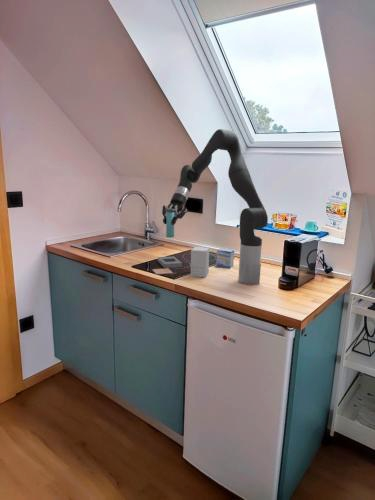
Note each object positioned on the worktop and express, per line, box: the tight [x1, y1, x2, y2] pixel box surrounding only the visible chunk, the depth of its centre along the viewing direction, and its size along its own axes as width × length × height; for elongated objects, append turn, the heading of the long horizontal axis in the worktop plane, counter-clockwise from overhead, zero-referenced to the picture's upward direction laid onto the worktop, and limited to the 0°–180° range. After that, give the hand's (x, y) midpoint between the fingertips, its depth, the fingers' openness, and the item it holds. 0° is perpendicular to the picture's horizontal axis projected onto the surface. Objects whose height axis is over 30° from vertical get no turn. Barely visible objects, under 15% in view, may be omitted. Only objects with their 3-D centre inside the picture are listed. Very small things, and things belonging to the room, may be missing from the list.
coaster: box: [152, 268, 173, 275], centre depth 180 cm, size 8×8×1 cm
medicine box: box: [215, 248, 235, 269], centre depth 193 cm, size 8×4×9 cm, turn 62°
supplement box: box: [190, 246, 210, 278], centre depth 177 cm, size 7×7×13 cm
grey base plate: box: [157, 256, 183, 269], centre depth 193 cm, size 14×9×2 cm, turn 19°
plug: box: [165, 208, 175, 238], centre depth 189 cm, size 5×5×14 cm
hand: (168, 223), depth 187 cm, fingers closed on plug, 4 cm apart
